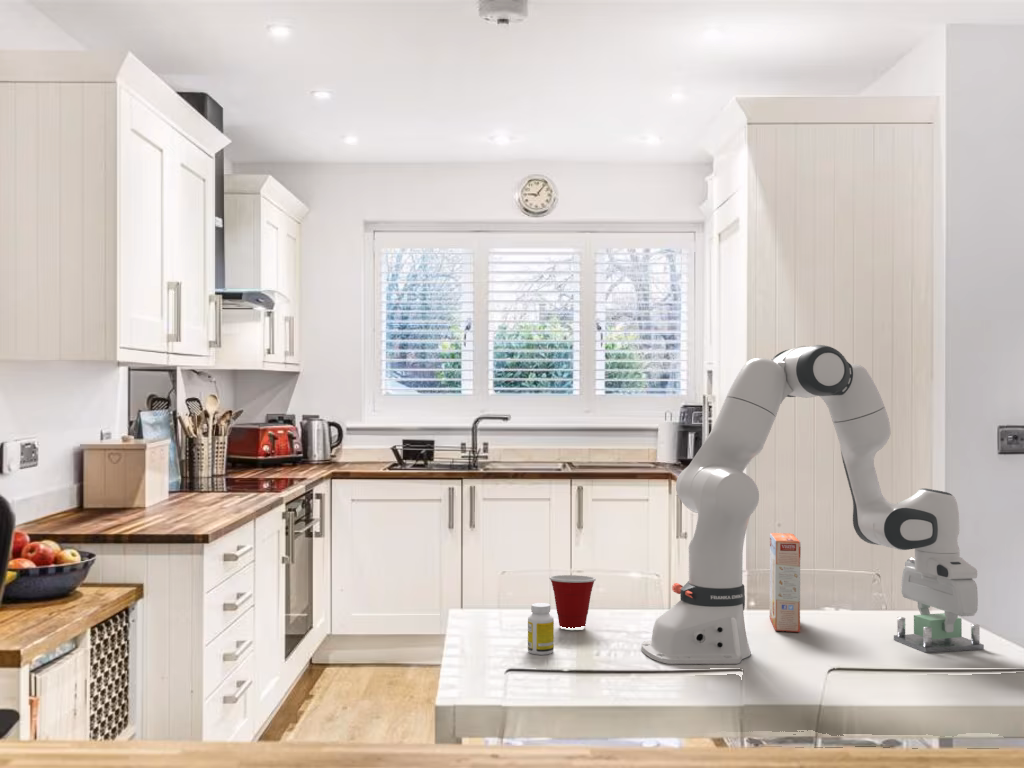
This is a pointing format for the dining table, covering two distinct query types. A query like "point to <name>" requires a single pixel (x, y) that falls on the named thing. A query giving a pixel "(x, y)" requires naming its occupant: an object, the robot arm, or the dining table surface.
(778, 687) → the dining table surface
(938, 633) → the green rectangular block
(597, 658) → the dining table surface
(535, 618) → the supplement bottle
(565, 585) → the plastic cup
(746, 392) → the robot arm
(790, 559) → the cracker box
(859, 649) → the dining table surface
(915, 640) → the chassis
